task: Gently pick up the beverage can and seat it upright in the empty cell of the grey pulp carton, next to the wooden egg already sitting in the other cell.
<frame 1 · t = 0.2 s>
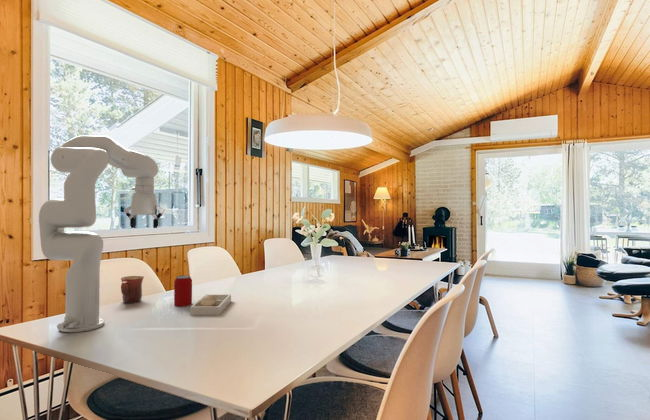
hand: (144, 227, 169), 31 cm above the table, fingers open, 9 cm apart
beverage can: (183, 306, 152), on the table
carton: (212, 309, 148), on the table
wooden egg: (208, 310, 143), point 1 cm above the table, touching carton
mug: (130, 302, 157), on the table
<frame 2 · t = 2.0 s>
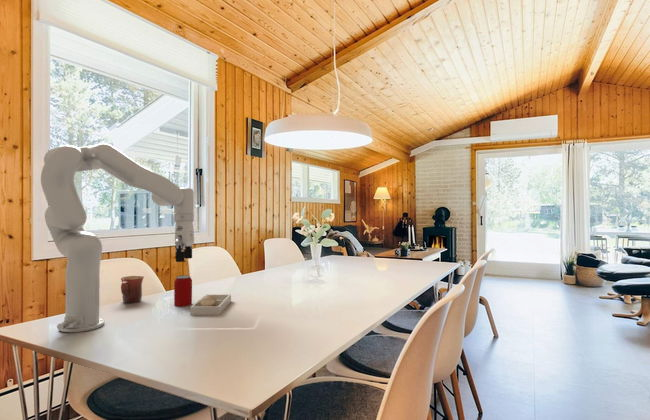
hand: (184, 260, 153), 19 cm above the table, fingers open, 9 cm apart
nothing on the table moved.
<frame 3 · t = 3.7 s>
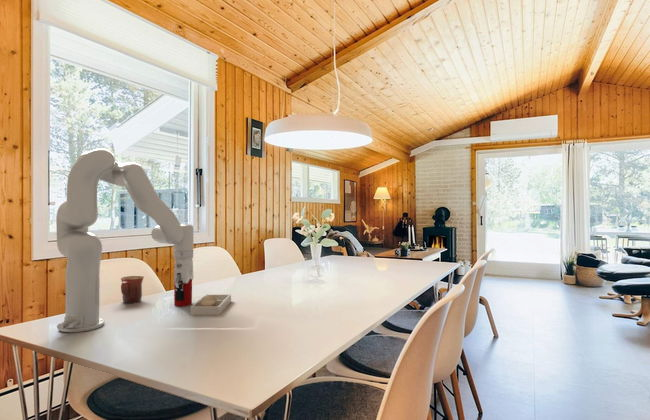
hand: (183, 297, 152), 3 cm above the table, fingers closed on beverage can, 6 cm apart
beverage can: (183, 306, 152), on the table, touching gripper
everything else where it was.
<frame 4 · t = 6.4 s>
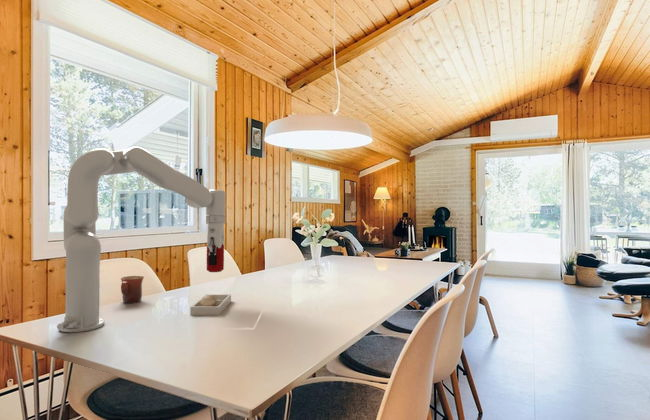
hand: (215, 263, 153), 17 cm above the table, fingers closed on beverage can, 6 cm apart
beverage can: (215, 271, 153), point 14 cm above the table, touching gripper
everything else where it was.
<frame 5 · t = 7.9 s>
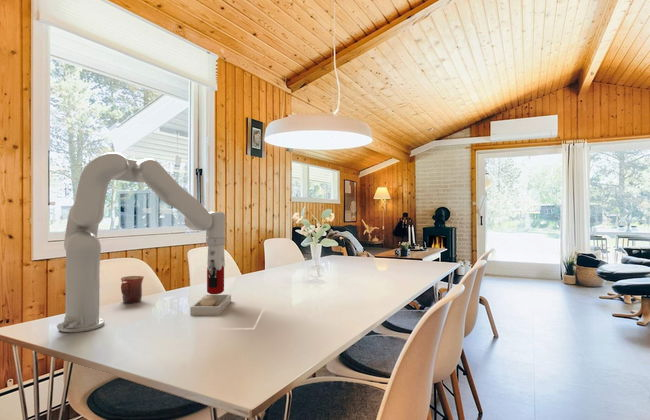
hand: (215, 285, 153), 9 cm above the table, fingers closed on beverage can, 6 cm apart
beverage can: (215, 293, 153), point 5 cm above the table, touching gripper
everything else where it was.
when the fingers open (5 cm above the table, at t = 9.2 s): beverage can stays where it is, resting on carton.
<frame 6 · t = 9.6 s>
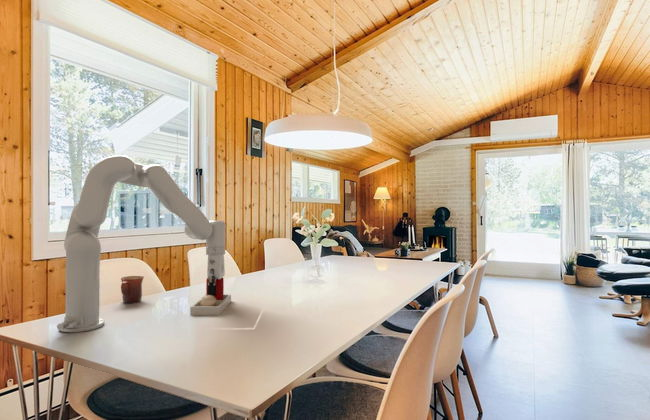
hand: (215, 292, 153), 6 cm above the table, fingers open, 9 cm apart
beverage can: (214, 304, 153), resting on carton
everything else where it was.
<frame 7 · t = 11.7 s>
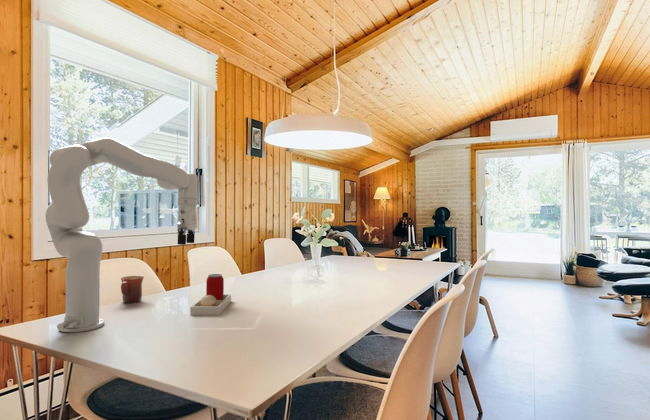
hand: (186, 243, 156), 25 cm above the table, fingers open, 9 cm apart
nothing on the table moved.
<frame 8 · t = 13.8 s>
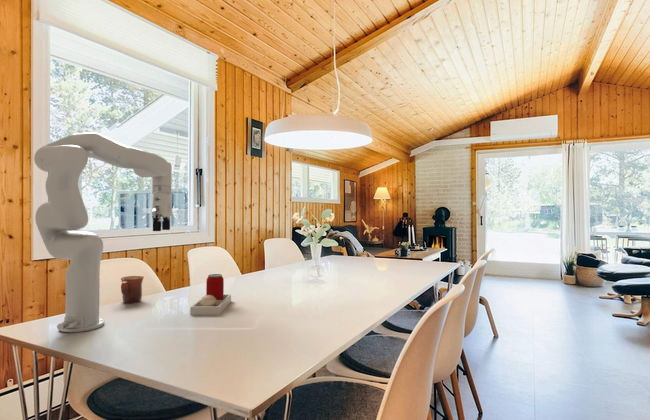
hand: (161, 230, 160), 30 cm above the table, fingers open, 9 cm apart
nothing on the table moved.
at the end: beverage can 0.2 cm from the target spot on the carton, point 0.4 cm above the carton's base; beverage can tilted 0°; wooden egg moved 0.0 cm from its start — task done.
